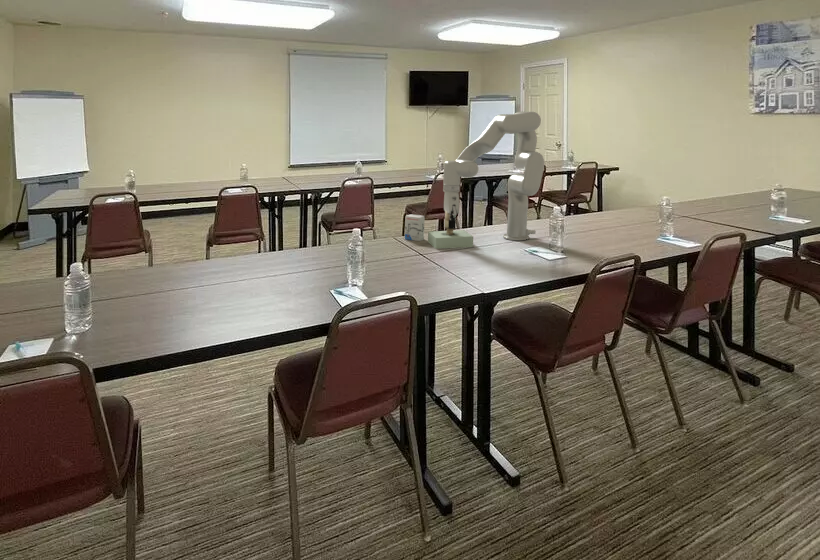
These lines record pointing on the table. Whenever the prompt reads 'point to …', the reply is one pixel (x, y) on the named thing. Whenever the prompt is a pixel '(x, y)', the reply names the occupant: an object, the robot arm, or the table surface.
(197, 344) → the table surface
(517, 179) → the robot arm
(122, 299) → the table surface
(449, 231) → the peg
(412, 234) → the ink box
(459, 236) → the board
